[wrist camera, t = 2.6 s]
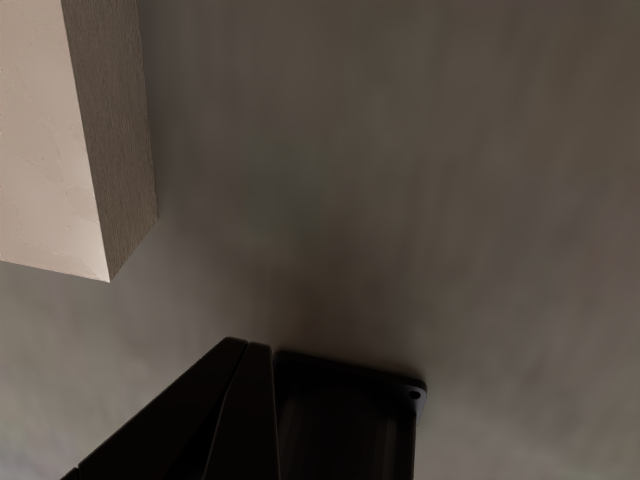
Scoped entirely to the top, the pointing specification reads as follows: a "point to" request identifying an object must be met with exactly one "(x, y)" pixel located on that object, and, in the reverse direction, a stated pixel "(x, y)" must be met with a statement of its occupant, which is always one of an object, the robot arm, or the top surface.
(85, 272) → the white flat block
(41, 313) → the top surface
